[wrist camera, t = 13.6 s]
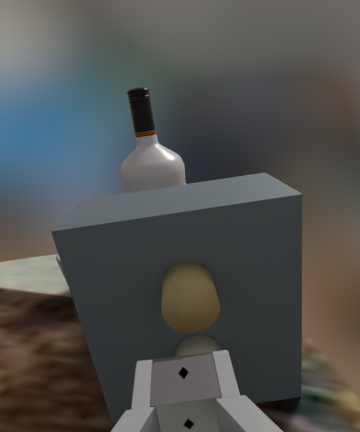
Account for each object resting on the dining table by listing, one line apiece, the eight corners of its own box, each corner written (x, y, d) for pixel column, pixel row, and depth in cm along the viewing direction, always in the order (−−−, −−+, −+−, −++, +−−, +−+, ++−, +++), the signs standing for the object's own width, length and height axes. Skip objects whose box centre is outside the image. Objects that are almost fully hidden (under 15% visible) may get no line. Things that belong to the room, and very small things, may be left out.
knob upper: (222, 328, 20) (216, 279, 19) (166, 336, 20) (156, 288, 19) (200, 245, 33) (196, 213, 31) (166, 250, 33) (160, 218, 32)
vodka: (135, 299, 45) (88, 96, 35) (184, 276, 50) (154, 90, 39) (163, 331, 38) (113, 84, 28) (217, 301, 42) (192, 78, 32)
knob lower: (230, 399, 22) (225, 361, 21) (180, 407, 22) (172, 368, 21) (207, 296, 35) (203, 268, 34) (174, 301, 35) (170, 273, 34)
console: (301, 396, 27) (302, 194, 20) (112, 424, 27) (51, 231, 20) (271, 335, 34) (265, 172, 28) (124, 357, 35) (82, 199, 28)
